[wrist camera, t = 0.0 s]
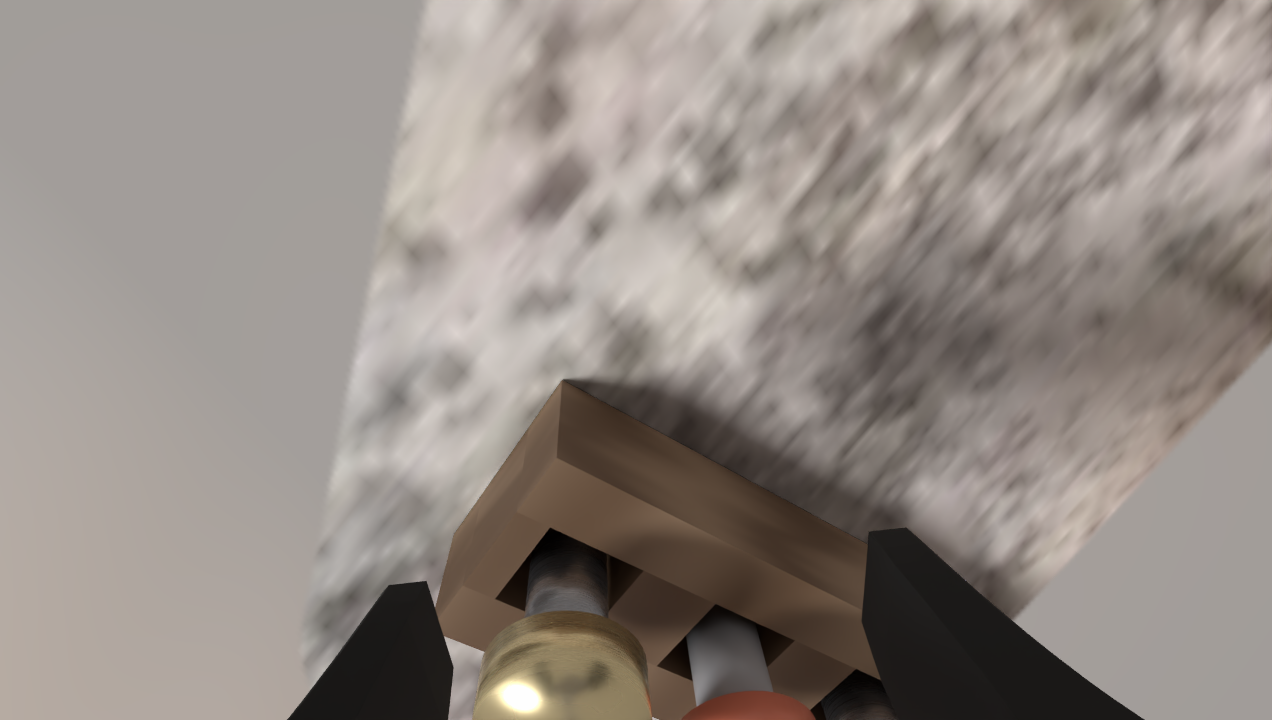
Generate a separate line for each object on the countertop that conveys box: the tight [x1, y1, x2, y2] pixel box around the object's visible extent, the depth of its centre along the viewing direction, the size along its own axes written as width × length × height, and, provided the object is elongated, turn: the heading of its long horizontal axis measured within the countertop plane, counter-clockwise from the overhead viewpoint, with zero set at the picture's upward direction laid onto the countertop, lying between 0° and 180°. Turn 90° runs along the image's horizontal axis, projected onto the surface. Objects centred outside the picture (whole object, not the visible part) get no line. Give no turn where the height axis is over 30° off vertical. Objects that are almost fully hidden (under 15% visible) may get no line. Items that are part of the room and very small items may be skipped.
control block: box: [435, 380, 881, 720], centre depth 23 cm, size 16×7×4 cm, turn 56°
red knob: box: [681, 604, 816, 720], centre depth 20 cm, size 4×4×5 cm
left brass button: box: [472, 531, 652, 720], centre depth 18 cm, size 4×4×5 cm
